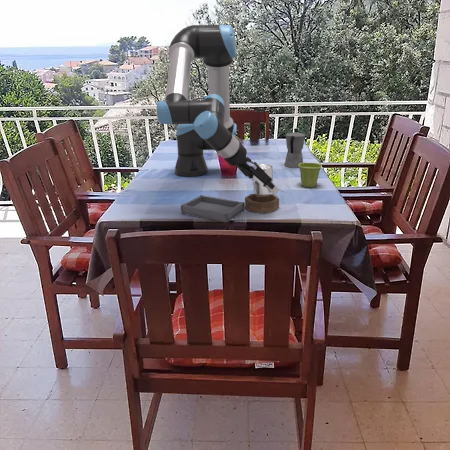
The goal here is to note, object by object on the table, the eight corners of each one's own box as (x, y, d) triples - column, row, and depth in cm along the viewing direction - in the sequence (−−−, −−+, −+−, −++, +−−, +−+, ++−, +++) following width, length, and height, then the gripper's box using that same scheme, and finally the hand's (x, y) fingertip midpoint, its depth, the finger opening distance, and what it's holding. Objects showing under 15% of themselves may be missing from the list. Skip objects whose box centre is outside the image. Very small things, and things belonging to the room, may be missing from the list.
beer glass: (270, 211, 151) (272, 169, 146) (250, 209, 153) (251, 168, 147) (272, 204, 158) (274, 164, 152) (253, 203, 159) (254, 163, 153)
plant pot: (307, 181, 185) (308, 161, 182) (325, 185, 178) (326, 165, 175) (292, 185, 179) (293, 165, 176) (310, 190, 173) (312, 169, 170)
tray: (181, 213, 150) (180, 205, 149) (201, 202, 160) (201, 195, 159) (226, 222, 142) (226, 214, 141) (244, 210, 152) (244, 202, 151)
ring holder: (240, 209, 153) (240, 200, 152) (254, 200, 162) (254, 191, 161) (269, 214, 148) (270, 205, 147) (282, 204, 157) (282, 195, 156)
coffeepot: (287, 162, 216) (288, 125, 210) (305, 163, 213) (308, 126, 207) (280, 169, 203) (281, 131, 196) (300, 171, 200) (302, 132, 193)
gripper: (209, 153, 148) (249, 191, 162) (240, 165, 133) (281, 205, 146) (223, 136, 149) (261, 175, 163) (255, 146, 133) (294, 188, 147)
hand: (270, 189), depth 155 cm, fingers closed on beer glass, 7 cm apart
